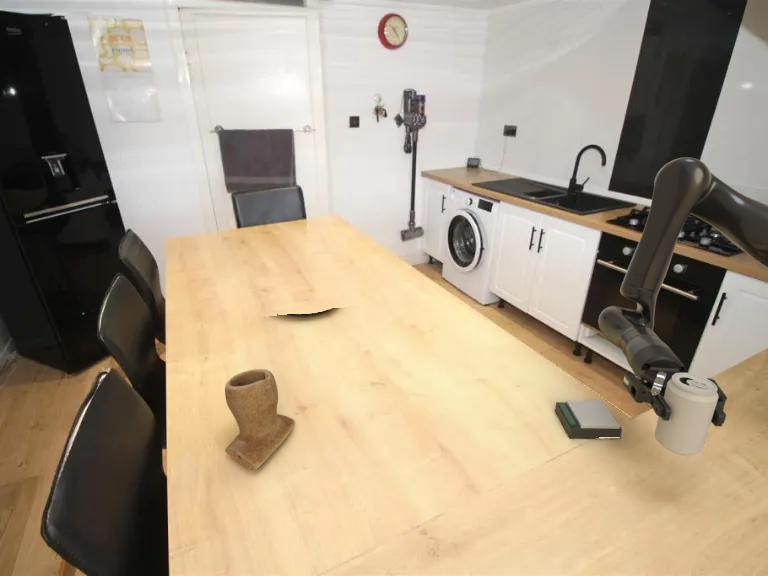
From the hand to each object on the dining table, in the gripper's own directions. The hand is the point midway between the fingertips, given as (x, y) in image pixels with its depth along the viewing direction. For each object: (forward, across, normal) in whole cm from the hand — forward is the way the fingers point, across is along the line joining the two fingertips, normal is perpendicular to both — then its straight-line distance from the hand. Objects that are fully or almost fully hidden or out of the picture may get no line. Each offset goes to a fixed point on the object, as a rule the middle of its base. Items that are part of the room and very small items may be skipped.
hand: (693, 418), depth 62 cm
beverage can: (-2, 0, +7) cm, 8 cm away
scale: (-19, -9, +18) cm, 27 cm away
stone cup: (0, -76, +18) cm, 78 cm away
